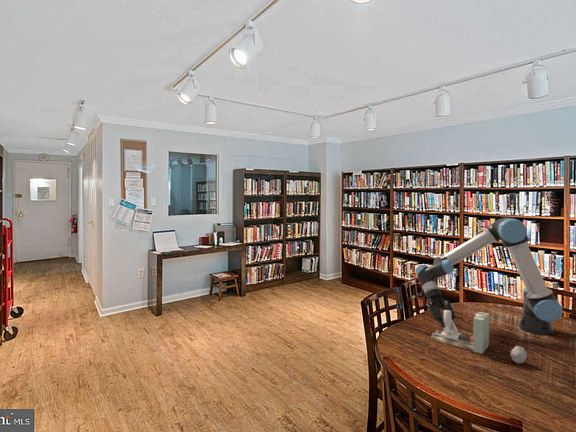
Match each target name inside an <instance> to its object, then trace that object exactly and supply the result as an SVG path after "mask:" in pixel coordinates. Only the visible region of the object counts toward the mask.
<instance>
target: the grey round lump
mask: <svg viewBox="0 0 576 432" xmlns="http://www.w3.org/2000/svg"><path fill="white" fill-rule="evenodd" d="M509 355H510V358H511V359H512V361H513V362H514V363H516V364H518V365H519V364H523V363H524V362H525V361H526V359H527V358H528V354H527V351H526V350H525V347H524V348H523V347H522V346H518V345H515V346H514V347H513V348H512V349H511V351H510V353H509Z"/></svg>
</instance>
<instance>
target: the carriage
mask: <svg viewBox="0 0 576 432" xmlns="http://www.w3.org/2000/svg"><path fill="white" fill-rule="evenodd" d="M443 320H445V322H446V324H447V326H448V328H449V330H450V333H449V334H446V332H445V330H444V328H443V330H442V333H441V334H440V336H443V337H447V338H451V339H455V340H458V339H461V340H465V341H466V339H467V338H468V335H466V334H463V332H459V331H458V332H457V333H455V334H454V332H453V330H452V328H451V311H450V310H444V312H443Z"/></svg>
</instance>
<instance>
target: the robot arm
mask: <svg viewBox="0 0 576 432" xmlns="http://www.w3.org/2000/svg"><path fill="white" fill-rule="evenodd" d="M527 232H528V231H527V227H526V225H525V224H524V223H523V221H521V220H520V219H516V218H513V217H501V218H499V219H497V220H496V221H494V222H492V223H491V224H490V225H488V226H486V227H484V230H483V231H481V232H480V233H478V234H477V235H475V236H473V237H472V238H469V239H468V240H467V241H465V242H463V243H462V244H460V245H458V246H457V247H455V248H453V249H451V250H449V251H448V252H446V253H445V254H442V255H441V256H438V257H436V258H435V259H434V260H433V263H432V265H431V266H428V265H426V264H421V265H419V266H417V267H416V268H415V270H414V271H415V275H416V276H417V279H418V280H419V281H418V282H420V285H421V287H422V289H423V291H424V293H425V296H426V298H427V300H428V301H427V302H426V303H425V307H427V308H428V310H429V311H430V314H431V316H432V317H433V319H434V321H435V322H437V323H440V326H441V328H444V330H445V332H446V334H449V333H450V330H449V328H448V326H447V324H446V322H445V320H444V317H443V315H442V312H443V313H444V310H450V311H451V331H453V332H454V334H455V333H457V332H459V331H458V328H457V326H456V325H457V324H456V322H455V320H454V319H455V318H457V315H456V313H455V312H454V310H453V307H452V304H451V301H450V300H449V299H448V300H445V298H444V297H443V294H442V292H441V290H440V289H439V286H438V285H437V282H436V280H437V279H440V278H442V277H444V276H447V275H450V274H451V273H453V272H455V268H454V265H456V264H458V263H459V262H461V261H462V260H463V261H464V259H466V258H468V257H470V256H472V255H473V254H475V253H477V252H478V251H481V250H482V249H484V248H486V247H488V246H489V245H491V244H493V243H498V242H499V241H500V242H501V243H502V246H503V247H504V248H505V249H507V250H508V251H509V253H510V255H511V258H512V260H513V262H514V265H515V267H516V269H517V272H518V273H519V276H520V278H521V280H522V283H523V285H524V288H523V292H522V294H523V298H522V299H523V301H522V303H523V305H522V315H521V317H520V320H519V322H518V328H519V329H520V330H522V331H525V332H528V333H531V334H536V335H548V336H549V335H551V334H553V333H554V327H553V324H552V322H555V321H557V320H559V319H560V318H561V317H562V315H563V313H564V312H563V310H564V309H563V306H562V305H561V304H560V302H559V301H557V298H556V297H555V294H554V292H553V290H552V289H550V288H548V287H547V285H546V283H545V281H544V279H543V276H542V274H541V272H540V269H539V266H538V265H537V263H536V260H535V258H534V256H533V254H532V251H531V249H530V247H529V245H528V243H530V239H529V236H528V233H527ZM441 311H442V312H441Z"/></svg>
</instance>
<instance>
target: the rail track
mask: <svg viewBox="0 0 576 432" xmlns="http://www.w3.org/2000/svg"><path fill="white" fill-rule="evenodd" d="M442 332H443V330H437V329H436V330H435V332H432V335H431V336H430V340H431V341H435V342H440V343H443V344H446V345H450V346H454V347H458V348H462V349H465V350H469V351H473V343H471V342H470V337H467V339H466V341H465V340H461V339H458V340H455V339H451V338H447V337H443V336H440V334H441V333H442Z"/></svg>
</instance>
